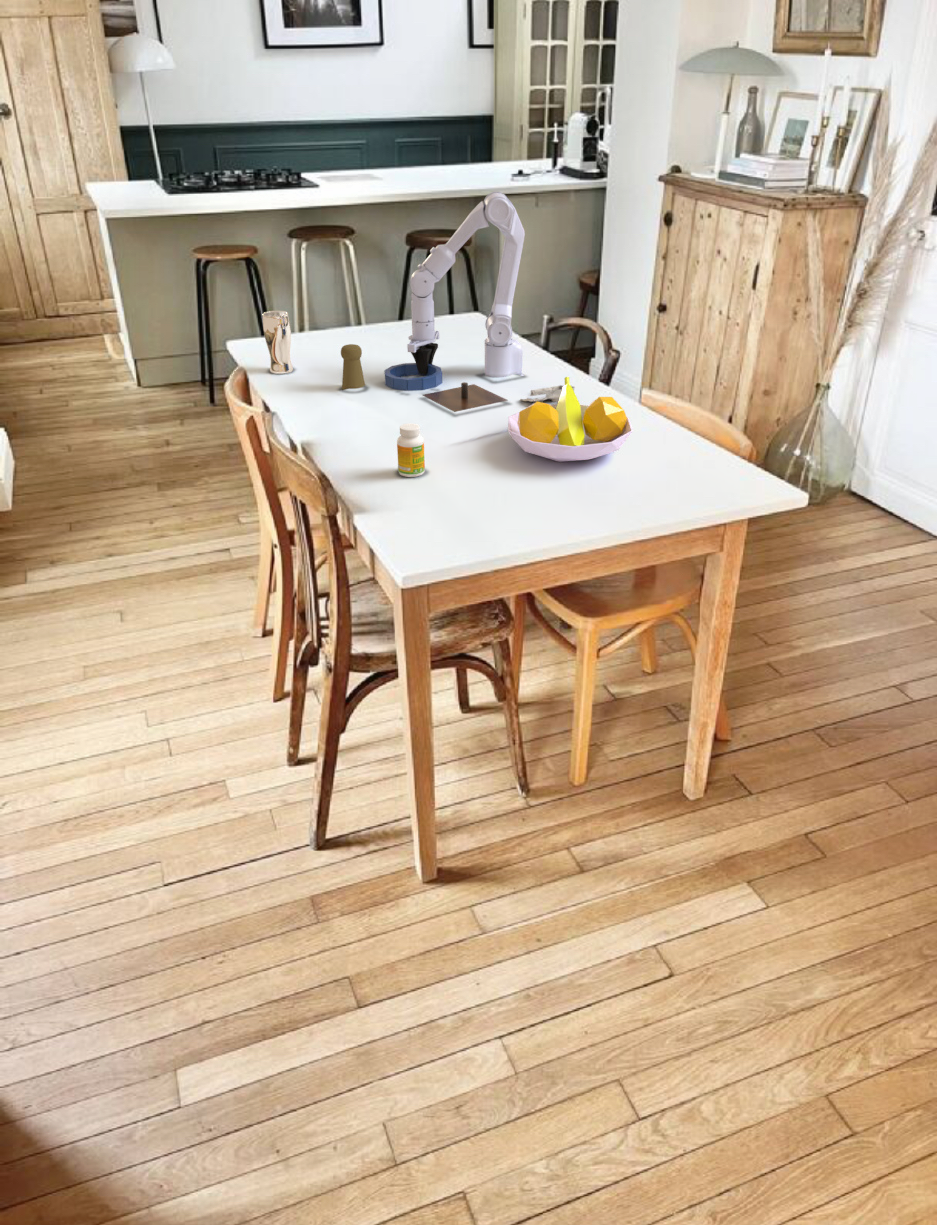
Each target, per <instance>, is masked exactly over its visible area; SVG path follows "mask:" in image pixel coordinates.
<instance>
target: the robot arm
mask: <svg viewBox="0 0 937 1225" xmlns="http://www.w3.org/2000/svg"><path fill="white" fill-rule="evenodd" d="M489 223H491V224H492V225H493V226H495V227H497V228H498V230H499V231H500V233H501V234H502V236H503V237H504V240H503V246H502V252H501V257H500V262H499V269H498V275H497V280H496V286H495V291H494V292H495V293H494V298H493V303H492V306H491V310H490V313H489V315H488V316H487V318H486V320H485V323H484V324H485V325H484V326H485V329H486V332H487V334H486V335H487V337H486V338H485V339H484V375H485V376H486V377H491V378H507V377H510V376H513V375H516V374H517V375H519V376H522V377H524V376H525V374H523V348H522V344H521V343H520V342H519V341H518V340H517V339H513V338H512V337H513V328H512V317H513V316H512V315H513V314H512V313H513V303H514V298H515V292H516V286H517V280H518V275H519V269H520V264H521V258H522V254H523V253H522V252H523V247H524V242H525V237H526V232H525V228H524V226H523V224H522V221H521V219H520V216H519V213H518V212H517V209H516V207H515V206H514V204H513V202H512V201H511V200H510V199H509V198H508V197H507V195H506V194H504V192H501V191H496V190H495V191H492V192H490V193H488V194H487V195H486V196H485V198H484V200H481V201H480V202H479V203H478V204H477V205H476V206H475V207H474V208H473V209H472V210H471V211H470V213H469V214H468V215H467V217H466V218H465V219H464V221H463V222H462V223H461V224H460V225H459V226H458V228H457V229H456V230H455V232H454V233H453V234H452V236H450V238H449V239H448V240H447V242H446V243H444V244H437V245H436V247H434V246H432V248H431V249H430V250H429V253H430V254H429V255H428V256H427V258H426V259H425V260H423V262H422V263H418V265H417V268H418V269H416V270H415V271H413V273H412V274H411V276H410V280H409V285H410V286H409V287H410V290H411V294H410V298H411V301H410V308H411V311H410V312H411V335H409V336H408V337H407V338H408V340H409V342H408V343H407V344H406V346H407V347H406V348H407V353H410V354H411V355H412V357H413V359H414V363H416V365H417V369H418V372H419V374H421V375H420V376H424V375H427V372H428V364H433V363H434V362H433V361H434V358H435V355H436V352H437V351H438V348H439V343H436V341H437V340H439V339H440V331H439V330H436V327H435V302H434V298H433V296H434V294H433V292H434V290H435V284H436V283H438V282H440V281H441V279H442V278H443V277H444V276H445V275H446V274H447V272H448V271H449V270H450V269H451V267H453V265H454V264H455V263H456V253H458V251H459V250H460V249H461V248H462V247H463V246H464V245H465V244H466V243H467V241H468V240H470V238H471V237H472V236H473V235H474V234H475V233H476V232H477V231H478V230H480V229H481V230H482V229H486V228H489V227H490V225H489Z"/></svg>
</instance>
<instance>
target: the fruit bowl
mask: <svg viewBox="0 0 937 1225" xmlns="http://www.w3.org/2000/svg"><path fill="white" fill-rule="evenodd" d="M563 386H564V387H563V389H562V392H561V395H560V398H559V401H558V402H557V403H554V404H550V403H546V402H538V401H537V402H535V401H534V402H533V403H532V404H530V405H529V406H526V407H525V408H524V409H522V410H520V411H517V412H516V413H514V414H512V415H510V416H508V417H507V418H508V419H507V431H508V433H509V435H510V437H511V438H512V440H513V441H514V442H515V443H516V444H517V446H519V447H520V448H521V449H522V450H523V451H524V452H525V453H529V454H531V455H536V456H538V457H541V458H545V459H549V460H551V461H555V462H559V463H562V462H574V461H587V460H592V459H596V458H600V457H603V456H606V455H608V454H611V453H614V452H617V451H620V449H621V448H622V446H623V445H624V444H625V443H626V441H627V440H628V438H629V437H630V436H631V435H632V433H634V430H633V426H632V423H631V419H630V417H628V416H627V415H626V412H625V410H624V408H623V407H622V406H621V405H620V403H618V402H617V401H616V400H615V398H614V397H613V396H598V397H597V398H595V399H594V400H593V401H592V402H591V403H590V404H589V405H588V404H581V403H580V401H579V399H578V397H577V395H576V393H575V390H574V391H573V389H572V387H573V385H571V382H570V376H565V377H564V385H563Z"/></svg>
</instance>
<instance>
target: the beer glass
mask: <svg viewBox="0 0 937 1225" xmlns="http://www.w3.org/2000/svg"><path fill="white" fill-rule="evenodd" d="M289 317H290V316H289V312H288V311H286V310H269V311H265V312H263V313H262V326H263V328H262V329H263V336H264V340H265V344H266V347H267V351H268V355H269V363H270V364H269V372H270V373H272V374H274V375H276V374H277V375H282V374H283V375H285V374H289V373H291V372H293V370H294V368H293V363H292V360H291V343H292V329H291V322H290V318H289Z"/></svg>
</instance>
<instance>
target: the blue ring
mask: <svg viewBox="0 0 937 1225" xmlns="http://www.w3.org/2000/svg"><path fill="white" fill-rule="evenodd" d="M383 372H384V384H385V386H386V387H388V388H391V389H393V390H399V391H406V392H413V391H414V392H415V391H425V390H430V389H431V390H432V389H434V388H437V387H439V386H440V385H442V384H443V370H442V367H441V366H438V365H436V364H433V363H432V364H428V372H427V375H423V376H422V375H421V374H419V372H418V369H417V365H416V362H404V363H399V364H395V365H391V366H389V367H386V369H384V371H383ZM408 376H409V377H408ZM410 376H420V377H410Z"/></svg>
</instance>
